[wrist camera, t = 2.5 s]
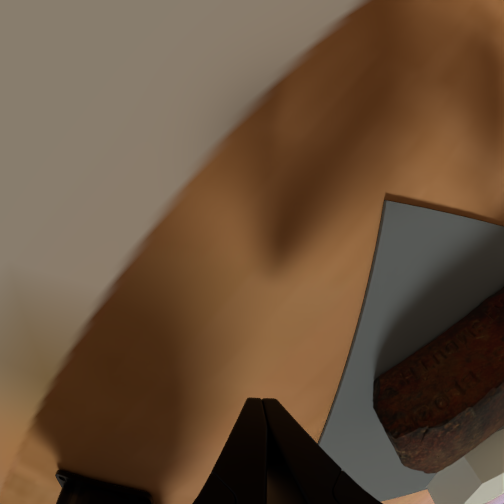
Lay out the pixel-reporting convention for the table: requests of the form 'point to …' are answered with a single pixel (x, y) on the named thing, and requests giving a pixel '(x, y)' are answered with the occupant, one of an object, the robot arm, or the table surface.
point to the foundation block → (472, 475)
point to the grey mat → (406, 328)
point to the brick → (446, 391)
